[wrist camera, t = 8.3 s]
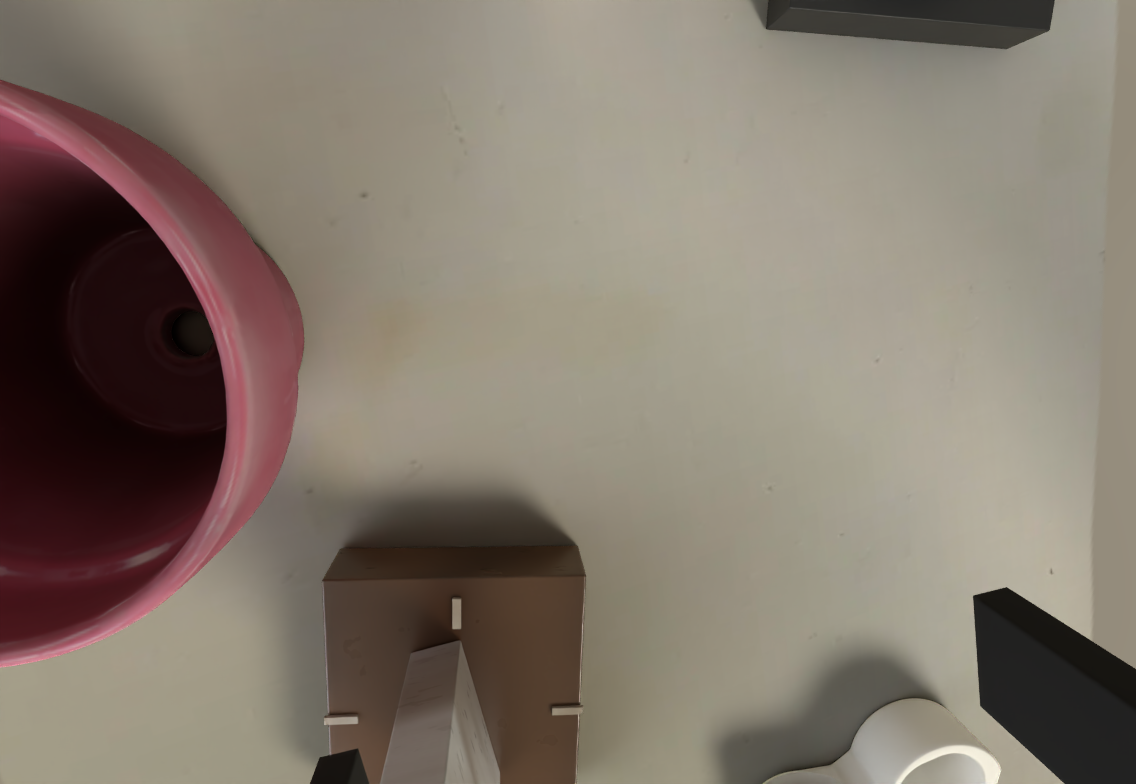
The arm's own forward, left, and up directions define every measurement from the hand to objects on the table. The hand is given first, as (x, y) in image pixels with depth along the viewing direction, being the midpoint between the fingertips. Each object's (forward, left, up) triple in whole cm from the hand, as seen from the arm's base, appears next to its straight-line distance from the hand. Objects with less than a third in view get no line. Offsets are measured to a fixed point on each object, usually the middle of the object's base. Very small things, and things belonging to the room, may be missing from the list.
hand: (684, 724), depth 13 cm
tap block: (+6, +10, -17) cm, 20 cm away
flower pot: (+17, -6, -17) cm, 24 cm away
